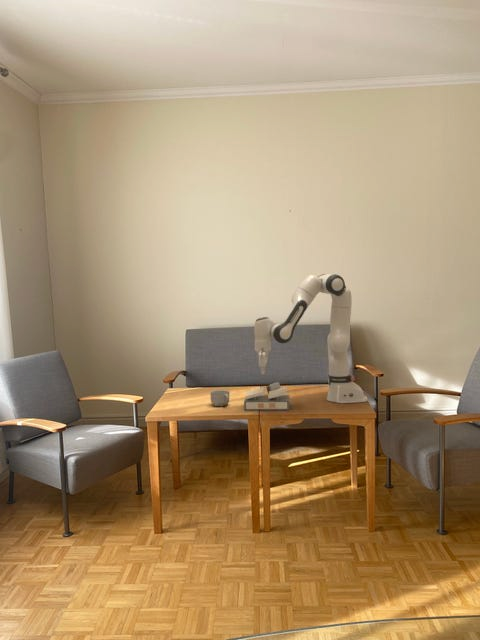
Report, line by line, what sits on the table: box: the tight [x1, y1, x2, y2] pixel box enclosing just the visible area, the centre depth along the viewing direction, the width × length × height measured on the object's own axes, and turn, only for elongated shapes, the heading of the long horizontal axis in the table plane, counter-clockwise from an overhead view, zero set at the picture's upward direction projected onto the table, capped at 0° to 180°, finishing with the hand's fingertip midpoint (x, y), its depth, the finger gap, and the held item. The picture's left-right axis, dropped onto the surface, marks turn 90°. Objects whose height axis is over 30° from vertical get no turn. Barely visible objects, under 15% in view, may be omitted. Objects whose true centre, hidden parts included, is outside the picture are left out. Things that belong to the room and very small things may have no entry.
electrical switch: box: [265, 381, 282, 395], centre depth 320 cm, size 9×5×9 cm, turn 141°
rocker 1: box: [245, 387, 266, 399], centre depth 301 cm, size 10×11×2 cm
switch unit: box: [243, 394, 291, 412], centre depth 300 cm, size 24×14×7 cm, turn 84°
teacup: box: [209, 389, 230, 407], centre depth 307 cm, size 14×11×8 cm
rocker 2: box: [267, 386, 288, 399], centre depth 299 cm, size 10×11×2 cm
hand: (263, 372), depth 299 cm, fingers open, 8 cm apart
